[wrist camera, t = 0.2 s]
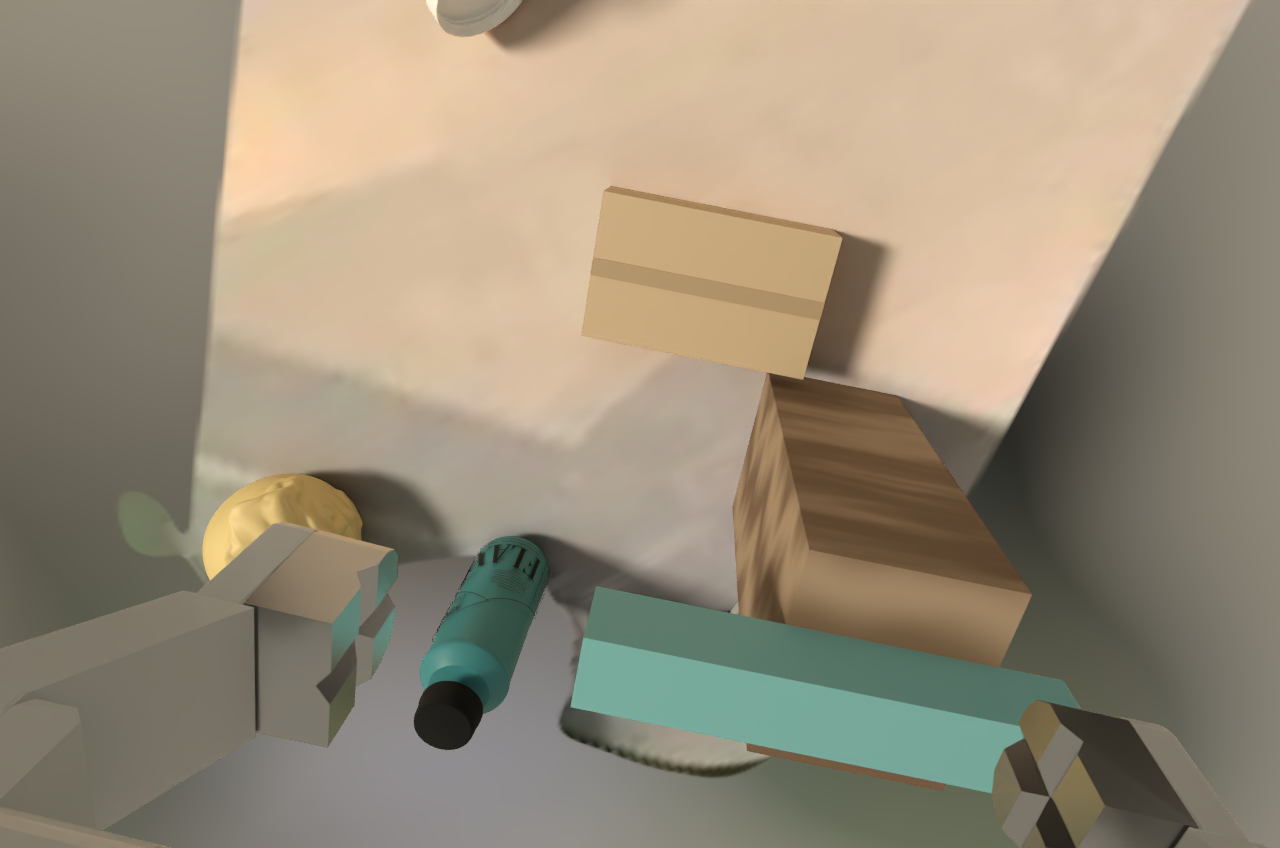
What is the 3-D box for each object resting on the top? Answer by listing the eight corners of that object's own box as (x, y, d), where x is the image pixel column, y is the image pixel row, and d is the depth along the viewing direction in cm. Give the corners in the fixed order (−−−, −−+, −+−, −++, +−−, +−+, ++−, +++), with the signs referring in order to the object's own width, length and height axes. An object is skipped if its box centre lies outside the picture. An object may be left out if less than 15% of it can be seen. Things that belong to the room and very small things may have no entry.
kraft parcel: (610, 186, 54) (603, 191, 50) (833, 229, 53) (843, 238, 50) (589, 321, 57) (580, 336, 54) (797, 362, 57) (803, 380, 53)
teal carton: (596, 585, 35) (583, 637, 32) (1063, 680, 35) (1102, 743, 31) (584, 650, 37) (570, 707, 33) (1032, 742, 36) (1066, 808, 33)
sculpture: (406, 547, 66) (353, 623, 56) (296, 589, 69) (227, 668, 59) (336, 436, 63) (266, 496, 53) (223, 485, 66) (136, 550, 56)
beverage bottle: (562, 537, 65) (503, 704, 46) (544, 598, 67) (481, 780, 49) (489, 514, 64) (400, 673, 46) (473, 577, 67) (383, 752, 48)
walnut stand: (767, 370, 58) (809, 549, 34) (897, 395, 57) (1032, 594, 33) (732, 506, 62) (747, 750, 38) (852, 530, 62) (942, 791, 38)
